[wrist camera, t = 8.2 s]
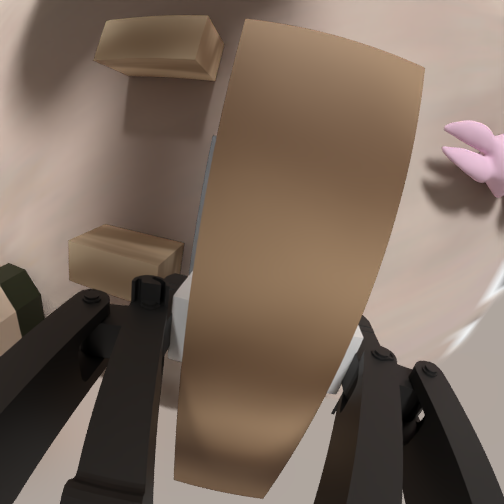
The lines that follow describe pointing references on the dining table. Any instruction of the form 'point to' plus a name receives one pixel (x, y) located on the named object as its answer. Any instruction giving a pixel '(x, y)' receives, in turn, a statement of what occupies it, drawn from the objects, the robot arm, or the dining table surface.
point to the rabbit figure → (478, 165)
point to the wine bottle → (17, 306)
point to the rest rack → (155, 65)
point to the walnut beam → (287, 244)
